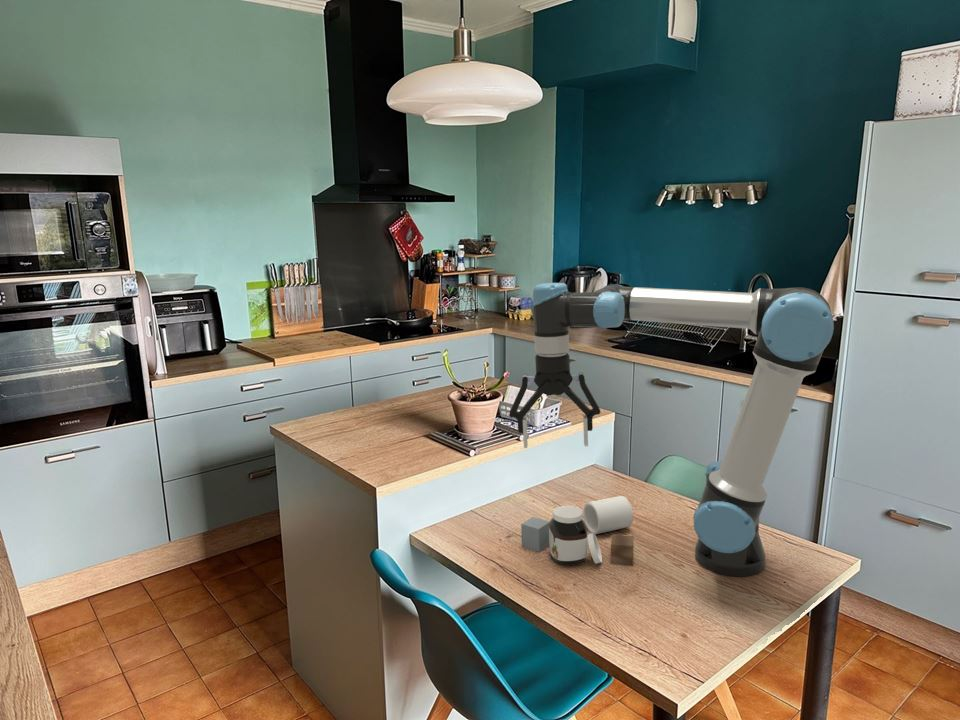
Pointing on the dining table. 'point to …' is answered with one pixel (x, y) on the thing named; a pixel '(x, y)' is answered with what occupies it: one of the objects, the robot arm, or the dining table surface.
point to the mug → (608, 514)
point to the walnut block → (622, 550)
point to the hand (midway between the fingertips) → (555, 445)
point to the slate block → (535, 534)
